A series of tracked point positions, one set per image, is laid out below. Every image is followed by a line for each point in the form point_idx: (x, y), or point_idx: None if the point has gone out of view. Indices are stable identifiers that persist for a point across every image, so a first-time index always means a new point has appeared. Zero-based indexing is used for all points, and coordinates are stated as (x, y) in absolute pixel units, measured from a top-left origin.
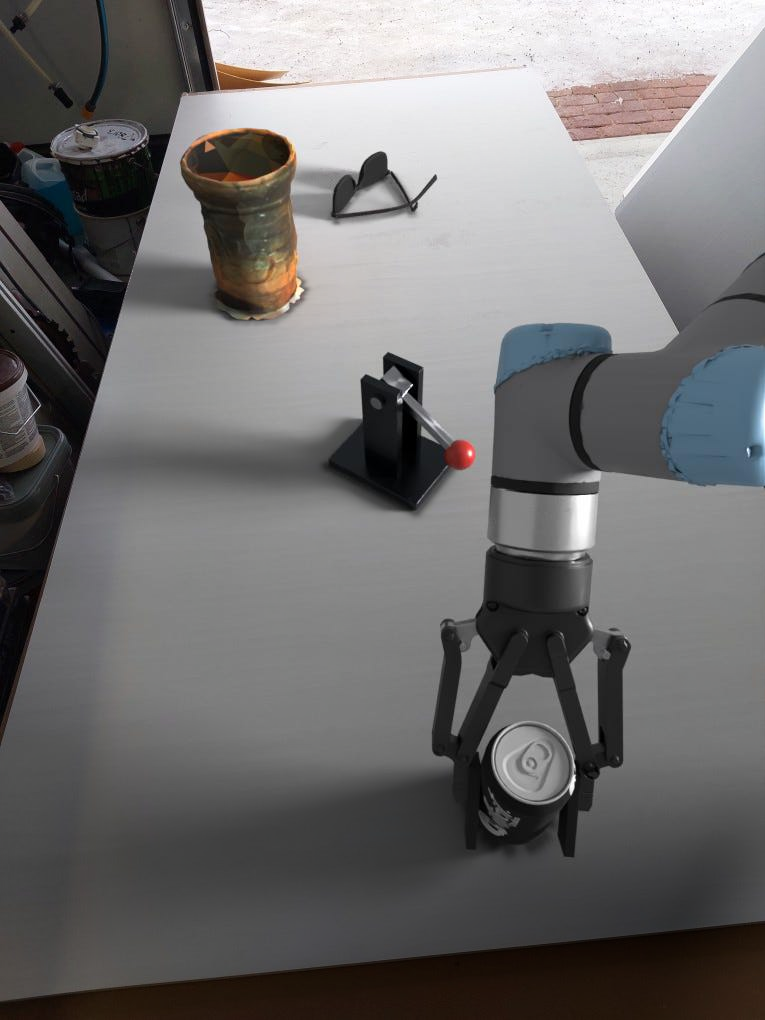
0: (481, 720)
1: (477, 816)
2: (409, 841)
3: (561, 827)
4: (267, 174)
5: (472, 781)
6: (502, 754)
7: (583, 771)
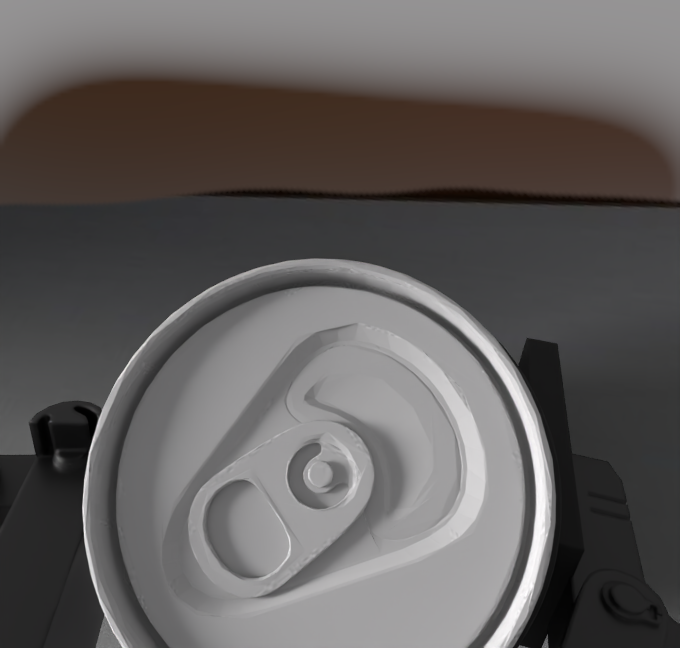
0: None
1: None
2: (660, 442)
3: None
4: None
5: (568, 502)
6: (473, 556)
7: None
